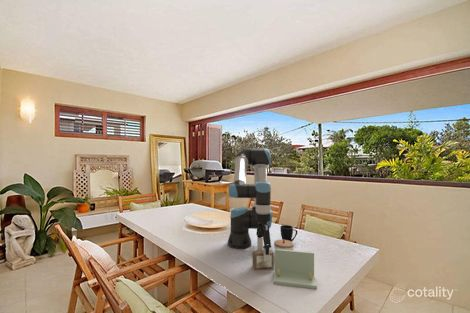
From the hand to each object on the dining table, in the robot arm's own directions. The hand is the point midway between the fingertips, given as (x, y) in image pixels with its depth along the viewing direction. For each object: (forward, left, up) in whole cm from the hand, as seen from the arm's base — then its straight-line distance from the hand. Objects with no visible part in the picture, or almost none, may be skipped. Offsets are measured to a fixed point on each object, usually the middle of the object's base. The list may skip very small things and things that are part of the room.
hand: (263, 255), depth 114 cm
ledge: (+15, -8, -6) cm, 18 cm away
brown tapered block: (0, 0, -6) cm, 6 cm away
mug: (+13, +41, -7) cm, 44 cm away
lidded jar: (+10, +16, -7) cm, 20 cm away
